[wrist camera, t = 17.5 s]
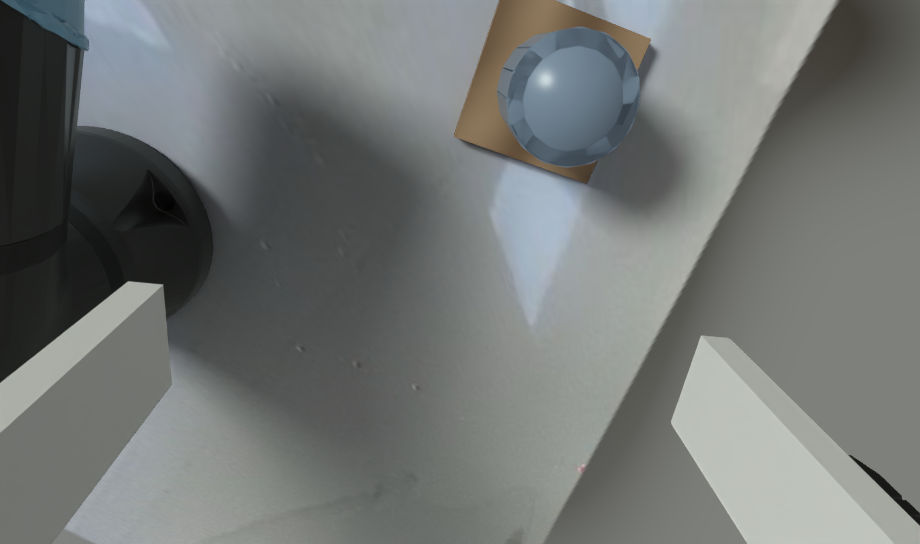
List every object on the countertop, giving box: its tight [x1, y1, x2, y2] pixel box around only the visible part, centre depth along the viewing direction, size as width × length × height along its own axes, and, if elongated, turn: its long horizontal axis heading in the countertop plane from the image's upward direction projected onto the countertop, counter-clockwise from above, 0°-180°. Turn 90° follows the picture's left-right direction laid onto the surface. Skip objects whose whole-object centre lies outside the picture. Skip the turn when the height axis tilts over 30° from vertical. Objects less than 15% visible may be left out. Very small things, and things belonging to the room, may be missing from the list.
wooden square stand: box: [454, 0, 651, 184], centre depth 34 cm, size 10×10×7 cm
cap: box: [497, 27, 640, 168], centre depth 32 cm, size 7×7×6 cm
